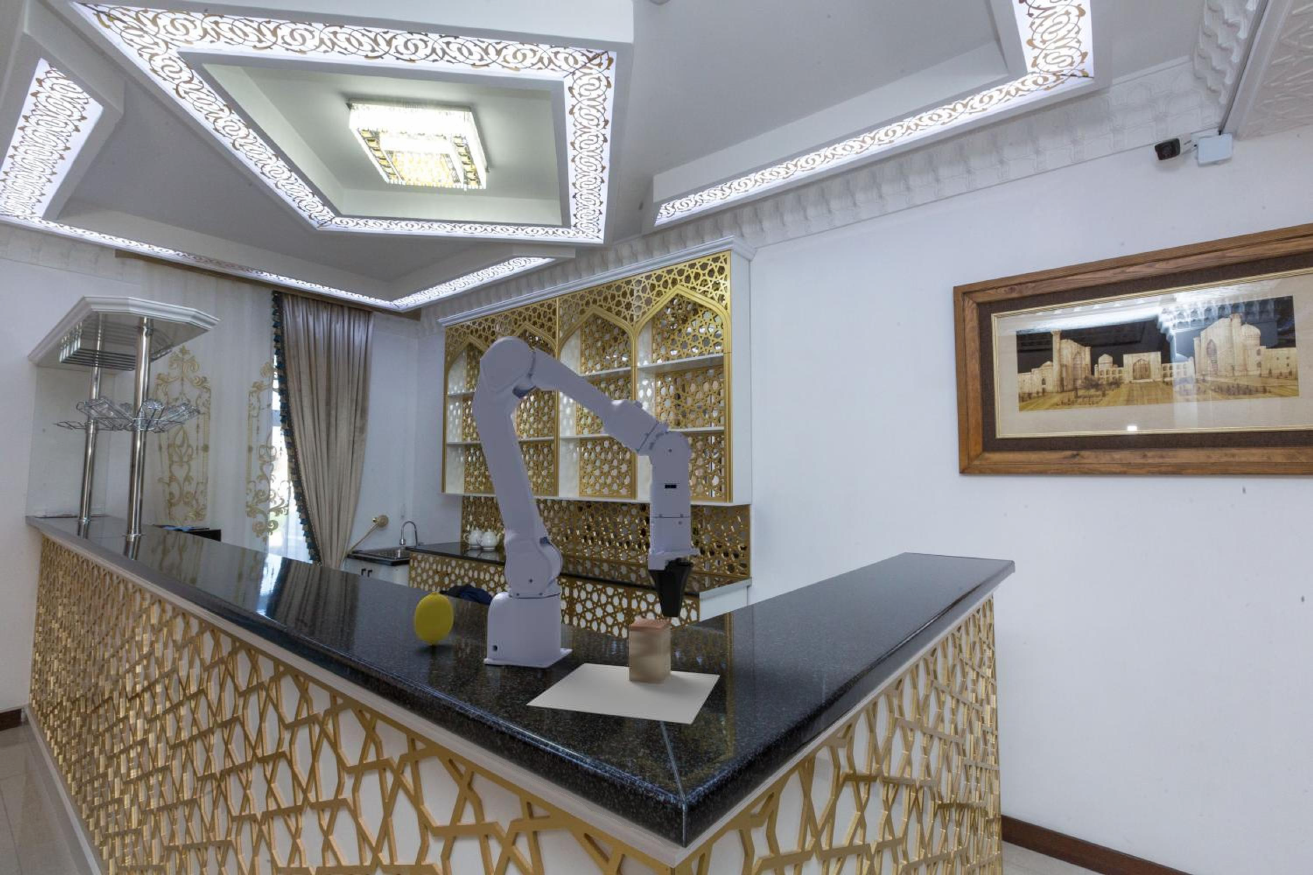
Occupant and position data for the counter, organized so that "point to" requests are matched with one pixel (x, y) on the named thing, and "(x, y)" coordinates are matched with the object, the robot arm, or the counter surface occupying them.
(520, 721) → the counter surface
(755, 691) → the counter surface
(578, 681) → the grey mat
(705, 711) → the counter surface
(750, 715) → the counter surface
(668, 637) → the maple block
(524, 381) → the robot arm
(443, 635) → the lemon
